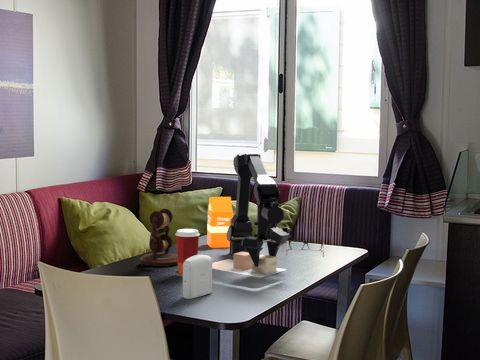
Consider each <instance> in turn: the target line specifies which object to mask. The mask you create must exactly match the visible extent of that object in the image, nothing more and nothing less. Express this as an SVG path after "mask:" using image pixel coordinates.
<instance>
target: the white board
mask: <svg viewBox="0 0 480 360" xmlns="http://www.w3.org/2000/svg"><path fill="white" fill-rule="evenodd" d="M212 270H216V271H221V272H222V271H224V272H227V273H228V272H229V273H232V274H238V275H242V276H243V275H244V276H250V277H254V278H259V279H260V278H264V277H268V276H273V275H275V274H276V275H277V274H279V273H282V272H285V271H287V269H285V268H280V267H277V271H276V272H273V273H269V274H262V273H257V272H252V268H251V269H247V270H241V269H236V268H233V259H231V258H228V259H227V258H226V259H224V260H220V261H219V260H218V261H216V262H212Z"/></svg>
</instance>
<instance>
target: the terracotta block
mask: <svg viewBox="0 0 480 360" xmlns="http://www.w3.org/2000/svg"><path fill="white" fill-rule="evenodd" d="M232 256H233V257H232V258H233V259H232V260H233V268H236V269H241V270H247V269H251V268H252V259H251V257H250V255H249V253H247V252H239V253H235V254H233V255H232Z"/></svg>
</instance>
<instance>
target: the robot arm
mask: <svg viewBox="0 0 480 360" xmlns="http://www.w3.org/2000/svg"><path fill="white" fill-rule="evenodd" d="M261 159H262V157H261V153H258V152H247V153H244V154H243V153H238V154H236V156H235V157H233V168H234V171H235V174H236V175H237V188H236V190H237V191H236V200H235V201H236V202H235V203H236V204H235V213H234V215H233V217H232V219H231V222H230V226H229V228H228V231H227V234H226V238H227V240H228V241H229V242H230V247H229V254H230V255H232V256H233V254H235V253H239V252H247V253H249V255H250V257H251V259H252V261H253V263H254V265H255V267H258V264H259V255H261V251H262V250H263V249H264V247H263V246H264V243H266V246H267V250H268V256H274V257H277V254H278V252H279V249H280V248H281V246H283V245H284V244H286V243H288V239H289V238H291V228H289V227H288V226H285V227H283V228H282V227H278V224H279V223H281V222H282V221H283V219H284V217H285V213H284V210H283V209H282V208H281V207H279V204H282V196H281V193H280V189H279V187H278V186H279V185H277V183H276V181H275V180H274V178H272V177H270V176H268V173H267V171H266V169H265V166H264V164H263V162H262V160H261ZM252 178H253V181H254V183H255V184H254V187H253V195H254V197H255V200H256V205H257V206H256V210H257V211H256V212H257V213H256V221H254V223H252V221H251V219H250V218H249V204H250V194H251V193H250V192H251V180H252ZM253 224H254V226H256V233H253V231H254V228H253ZM253 234H254V235H253Z"/></svg>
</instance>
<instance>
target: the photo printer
mask: <svg viewBox="0 0 480 360" xmlns="http://www.w3.org/2000/svg"><path fill="white" fill-rule="evenodd" d="M212 263H213V259H212V257H211V256H210V255H206V254H198V255H195V256H192V257H190V258H188V259H187V260H185V261H184V263H183V276H182V296H183V299H188V300H192V299H195V298H199V297H202V296H206V295H209V294H212V292H213V269H212Z"/></svg>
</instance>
